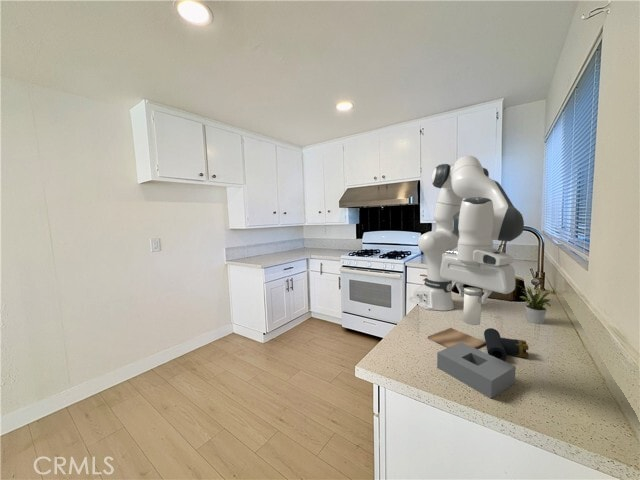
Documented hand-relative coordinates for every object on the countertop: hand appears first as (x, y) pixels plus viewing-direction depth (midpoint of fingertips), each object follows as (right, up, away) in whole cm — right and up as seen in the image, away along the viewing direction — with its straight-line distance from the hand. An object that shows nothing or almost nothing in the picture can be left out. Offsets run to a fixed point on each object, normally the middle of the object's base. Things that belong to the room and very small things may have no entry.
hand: (472, 299), depth 76 cm
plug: (0, -7, 0) cm, 7 cm away
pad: (+6, -20, +20) cm, 29 cm away
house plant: (+47, -18, +35) cm, 61 cm away
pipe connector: (+18, -21, +12) cm, 31 cm away
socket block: (+1, -23, 0) cm, 23 cm away
